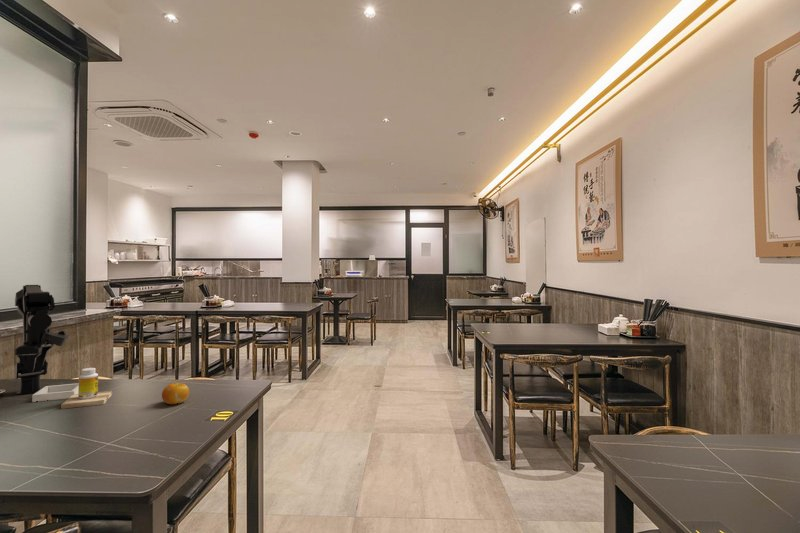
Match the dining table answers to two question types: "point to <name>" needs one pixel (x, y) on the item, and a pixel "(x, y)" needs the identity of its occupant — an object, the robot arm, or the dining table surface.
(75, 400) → the oak serving board
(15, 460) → the dining table surface
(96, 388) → the supplement bottle
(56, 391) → the grey tray
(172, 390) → the fruit
